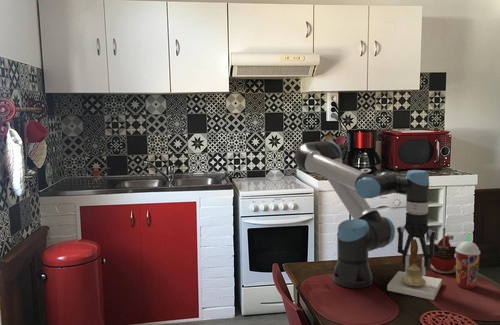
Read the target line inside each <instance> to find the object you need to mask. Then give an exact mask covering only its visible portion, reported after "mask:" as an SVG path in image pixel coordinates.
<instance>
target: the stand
mask: <svg viewBox="0 0 500 325" xmlns="http://www.w3.org/2000/svg"><path fill="white" fill-rule="evenodd" d="M405 275H406V273H405V271H400V270H399V271H397V272H396V273H395V275H394V276H393V278H391V279H390V280H389V282H388V284H387V287H386V289H387V290H386V291H389V292H393V293H399V294H403V295H408V296H413V297H417V298H421V299H427V300H431V301H434V300H435V298H436V296H437V295H438V292H439V291H440V289H441V287H442V285H443V279H442V278H436V277H433V276H426V275H424V276H422V278H423V279H424V280H425V282H426V284H425V285H422V286H411V285H408V284H405V283H403V282H402V278H403V277H404V276H405Z"/></svg>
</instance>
